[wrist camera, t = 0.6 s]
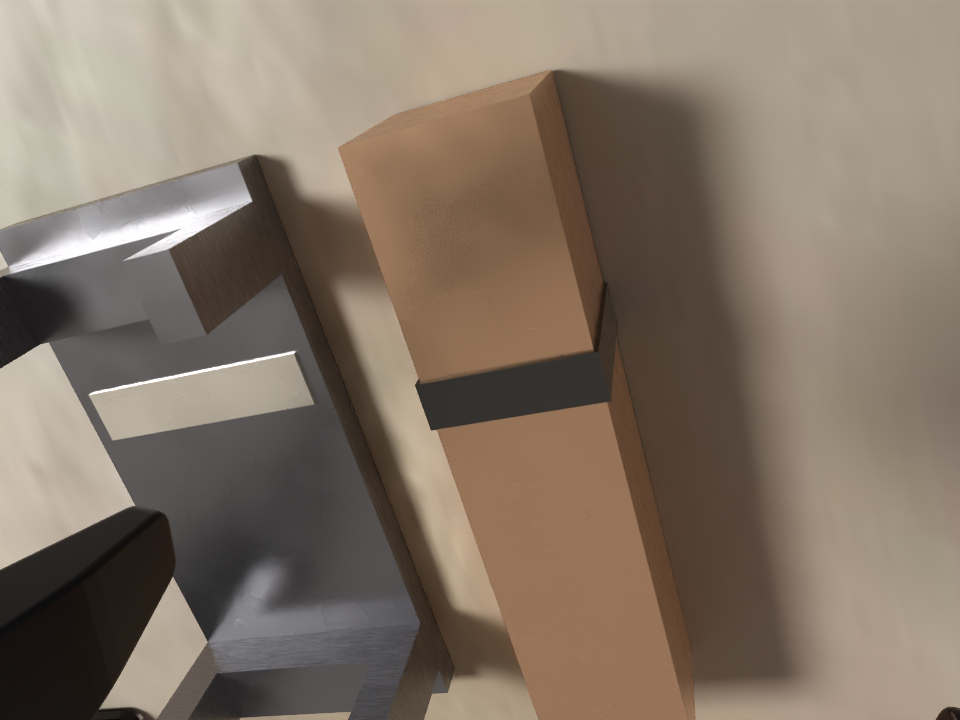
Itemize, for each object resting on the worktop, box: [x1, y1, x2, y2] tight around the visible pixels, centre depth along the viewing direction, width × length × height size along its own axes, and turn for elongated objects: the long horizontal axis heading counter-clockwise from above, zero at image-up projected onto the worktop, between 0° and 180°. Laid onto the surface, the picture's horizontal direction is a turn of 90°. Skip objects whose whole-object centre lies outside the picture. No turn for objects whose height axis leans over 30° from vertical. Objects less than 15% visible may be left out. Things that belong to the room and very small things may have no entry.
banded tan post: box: [338, 70, 696, 720], centre depth 21 cm, size 4×18×4 cm, turn 16°
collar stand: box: [0, 155, 454, 720], centre depth 23 cm, size 8×18×5 cm, turn 16°
